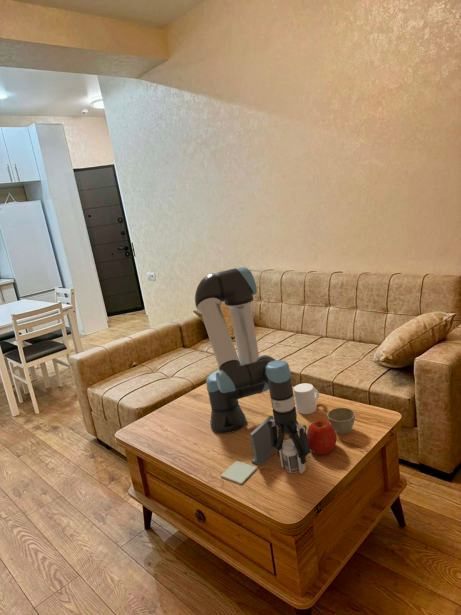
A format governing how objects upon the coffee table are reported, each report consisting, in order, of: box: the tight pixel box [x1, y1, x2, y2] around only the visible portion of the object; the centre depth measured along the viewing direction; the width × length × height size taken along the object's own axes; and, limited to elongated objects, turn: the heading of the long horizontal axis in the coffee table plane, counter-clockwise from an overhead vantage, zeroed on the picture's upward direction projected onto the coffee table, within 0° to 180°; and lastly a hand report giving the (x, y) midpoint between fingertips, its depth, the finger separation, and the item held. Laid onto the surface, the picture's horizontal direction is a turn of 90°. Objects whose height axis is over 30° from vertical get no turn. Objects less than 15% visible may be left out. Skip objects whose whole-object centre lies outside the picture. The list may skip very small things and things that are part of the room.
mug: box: [293, 382, 320, 415], centre depth 177 cm, size 8×10×12 cm
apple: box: [306, 419, 338, 456], centre depth 148 cm, size 11×11×11 cm
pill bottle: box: [282, 438, 300, 474], centre depth 140 cm, size 6×6×10 cm
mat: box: [220, 460, 258, 485], centre depth 144 cm, size 9×9×1 cm
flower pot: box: [327, 407, 356, 436], centre depth 156 cm, size 10×10×7 cm
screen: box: [249, 415, 277, 466], centre depth 150 cm, size 4×13×12 cm, turn 141°
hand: (293, 468), depth 141 cm, fingers open, 6 cm apart
